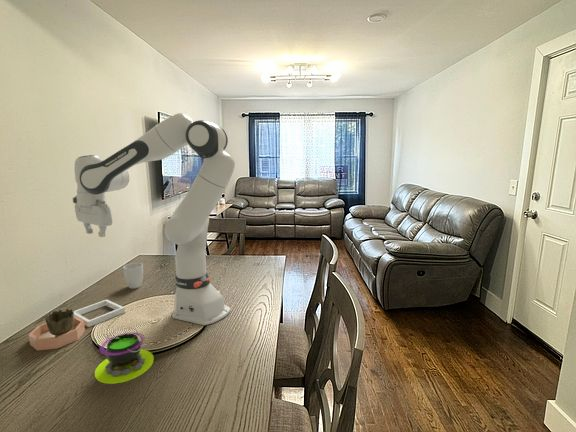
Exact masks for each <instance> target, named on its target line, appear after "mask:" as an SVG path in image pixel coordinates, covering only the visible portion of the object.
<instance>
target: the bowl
mask: <svg viewBox="0 0 576 432" xmlns="http://www.w3.org/2000/svg"><path fill="white" fill-rule="evenodd" d="M85 327H86V326H85V325H84V321H83V320H81V319H79V318H78V317H74V318H73V327H72V329H71V330H70V331H69V332H67V333H65V334H62V335H60V336H57V337H55V335H52V334H51V333H50V332H49V330H48V327H47V324H46V322H45V323H42V324H39V325H37V326H36V327H35V328H34V329H33V330H32V331H30V333H28V341H29V346H31V347H33V348H34V349H35V350H36V351H43V350H45V351H46V350H55V349H59V348H62V347H65V346H67V345H69V344H71V343H74V342H76V341H78V340H79V339H80V338H81V337H82V335H83V334H84V333H85V332H86V328H85Z"/></svg>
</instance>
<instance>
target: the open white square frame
mask: <svg viewBox="0 0 576 432" xmlns="http://www.w3.org/2000/svg"><path fill="white" fill-rule="evenodd" d="M103 307H107V308H110V309H112V311H109V312H107V313H104V314H101V315H99V316H96V317H94V318H91V319H88V318H87V317H85V316H83V315H85V314H87V313H90V312H92V311H95V310H97V309H100V308H103ZM73 311H74V317H78V318H79V319H81V320H83V321H84V325H85V327H87V328H91V327H93V326H95V325H98V324H100V323H103V322H105V321H108V320H110V319H112V318H115V317H117V316H120V315H122V314H124V313H125V312H126V308H125V307H124V306H122V305H120V304H118V303H116V302H114V301H111V300H109V299H103V300H101V301H98V302H95V303H93V304H90V305H87V306H85V307H82V308H78V309H76V310H73Z"/></svg>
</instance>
